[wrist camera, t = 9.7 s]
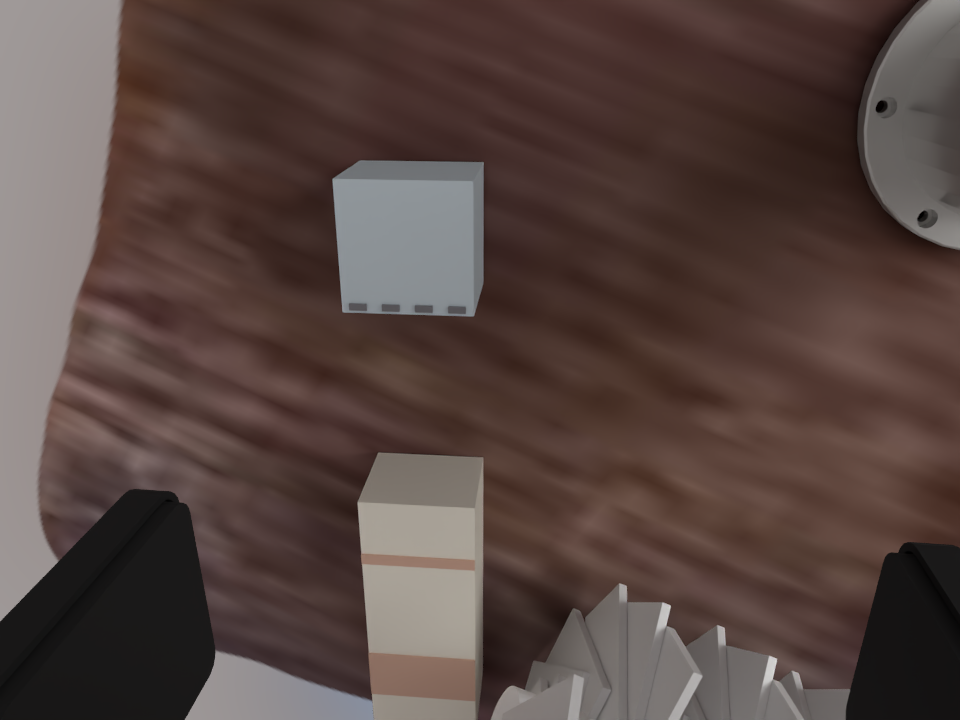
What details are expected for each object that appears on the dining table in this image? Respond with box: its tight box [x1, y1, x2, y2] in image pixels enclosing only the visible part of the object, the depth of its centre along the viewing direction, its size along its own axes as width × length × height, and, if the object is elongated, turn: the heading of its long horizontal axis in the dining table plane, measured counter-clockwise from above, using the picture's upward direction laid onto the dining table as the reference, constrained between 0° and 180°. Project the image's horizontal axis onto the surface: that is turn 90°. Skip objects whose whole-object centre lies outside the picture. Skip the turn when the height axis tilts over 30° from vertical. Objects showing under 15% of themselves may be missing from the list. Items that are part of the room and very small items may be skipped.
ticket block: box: [358, 453, 483, 720], centre depth 44 cm, size 6×16×5 cm, turn 0°
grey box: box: [332, 160, 484, 316], centre depth 36 cm, size 6×6×5 cm
